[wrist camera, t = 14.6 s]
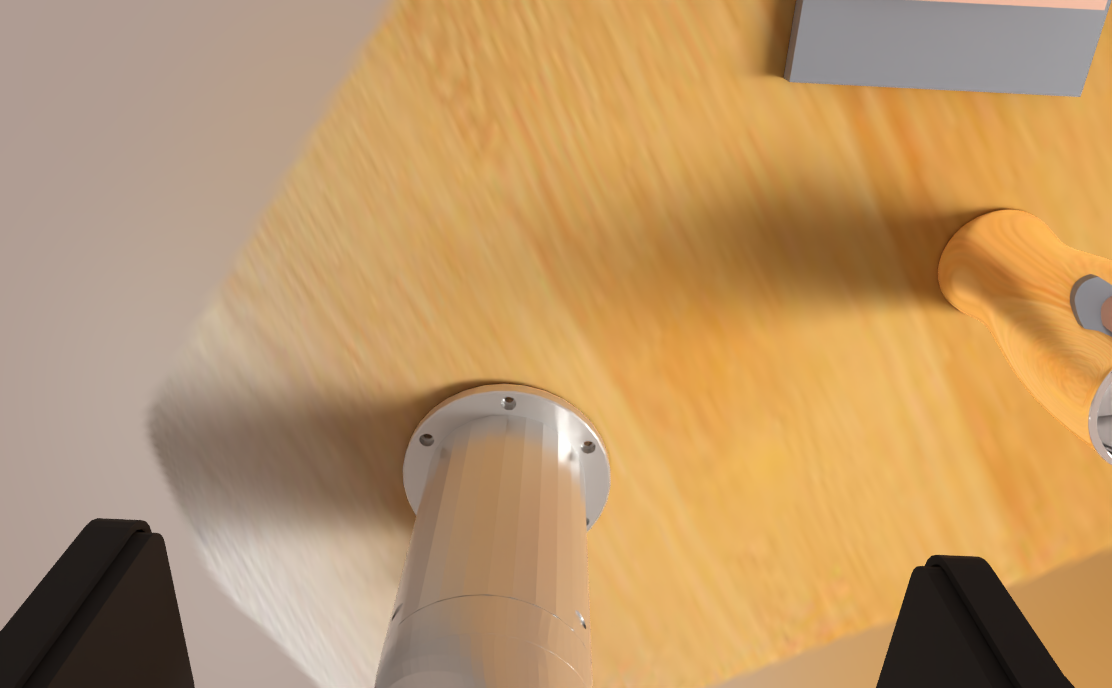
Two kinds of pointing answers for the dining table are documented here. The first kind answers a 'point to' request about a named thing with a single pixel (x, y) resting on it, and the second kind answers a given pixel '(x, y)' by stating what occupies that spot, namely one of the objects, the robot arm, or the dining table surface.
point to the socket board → (947, 44)
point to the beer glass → (1040, 314)
